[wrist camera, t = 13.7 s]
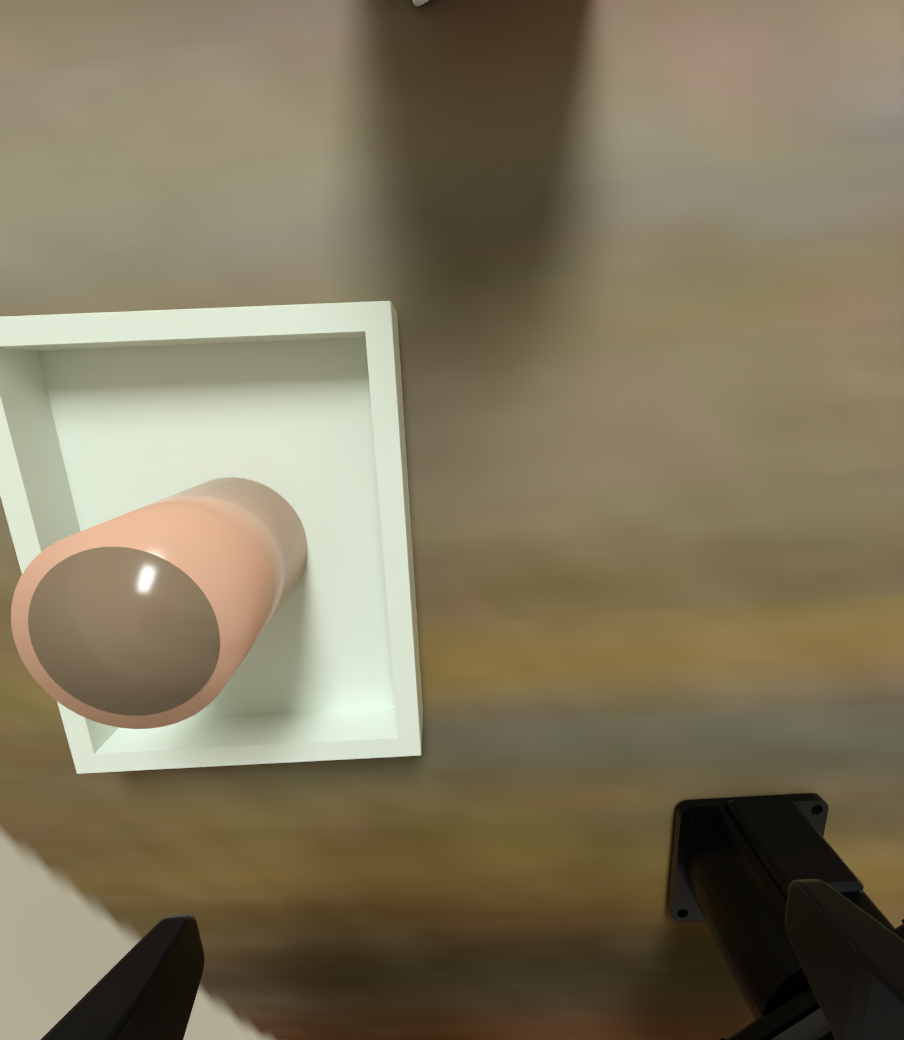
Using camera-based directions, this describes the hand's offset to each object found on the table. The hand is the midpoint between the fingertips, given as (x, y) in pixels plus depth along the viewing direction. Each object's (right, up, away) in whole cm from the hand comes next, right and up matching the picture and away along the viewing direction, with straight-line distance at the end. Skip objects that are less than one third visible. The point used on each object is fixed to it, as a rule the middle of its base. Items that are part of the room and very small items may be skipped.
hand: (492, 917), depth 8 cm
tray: (-8, +5, +11) cm, 15 cm away
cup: (-8, +5, +11) cm, 15 cm away
